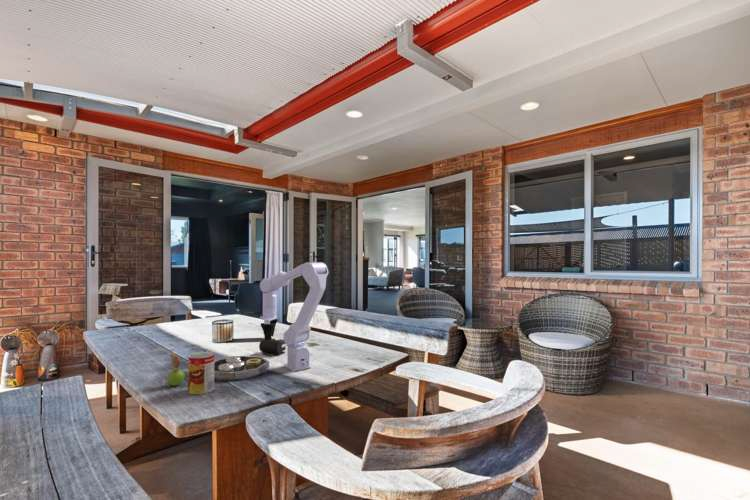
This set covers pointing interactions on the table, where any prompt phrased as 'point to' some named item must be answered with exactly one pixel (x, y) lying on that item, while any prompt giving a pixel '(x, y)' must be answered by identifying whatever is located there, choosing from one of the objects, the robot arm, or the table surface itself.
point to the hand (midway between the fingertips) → (269, 338)
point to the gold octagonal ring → (253, 363)
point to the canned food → (201, 372)
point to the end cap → (272, 346)
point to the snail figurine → (175, 371)
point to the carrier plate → (237, 368)
